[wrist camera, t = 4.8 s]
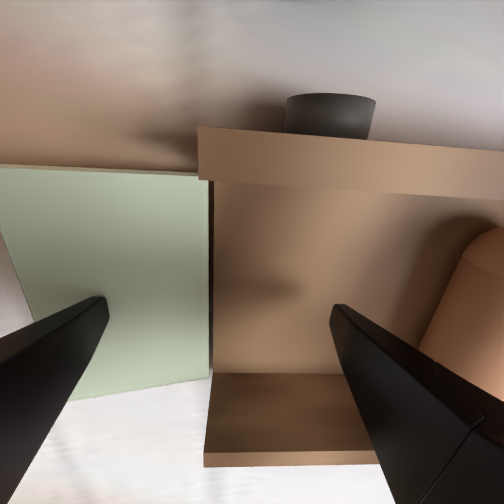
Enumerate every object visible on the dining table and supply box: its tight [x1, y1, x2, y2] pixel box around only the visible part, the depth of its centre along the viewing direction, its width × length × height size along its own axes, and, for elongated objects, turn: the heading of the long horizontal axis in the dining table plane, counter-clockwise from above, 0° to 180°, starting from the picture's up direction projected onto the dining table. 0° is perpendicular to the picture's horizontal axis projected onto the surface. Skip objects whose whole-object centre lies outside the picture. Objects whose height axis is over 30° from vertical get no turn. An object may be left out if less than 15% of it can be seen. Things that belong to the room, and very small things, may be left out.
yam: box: [418, 226, 504, 402], centre depth 10 cm, size 3×8×3 cm, turn 176°
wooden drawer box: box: [197, 93, 504, 467], centre depth 10 cm, size 18×14×4 cm
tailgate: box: [0, 164, 209, 402], centre depth 10 cm, size 1×9×6 cm
